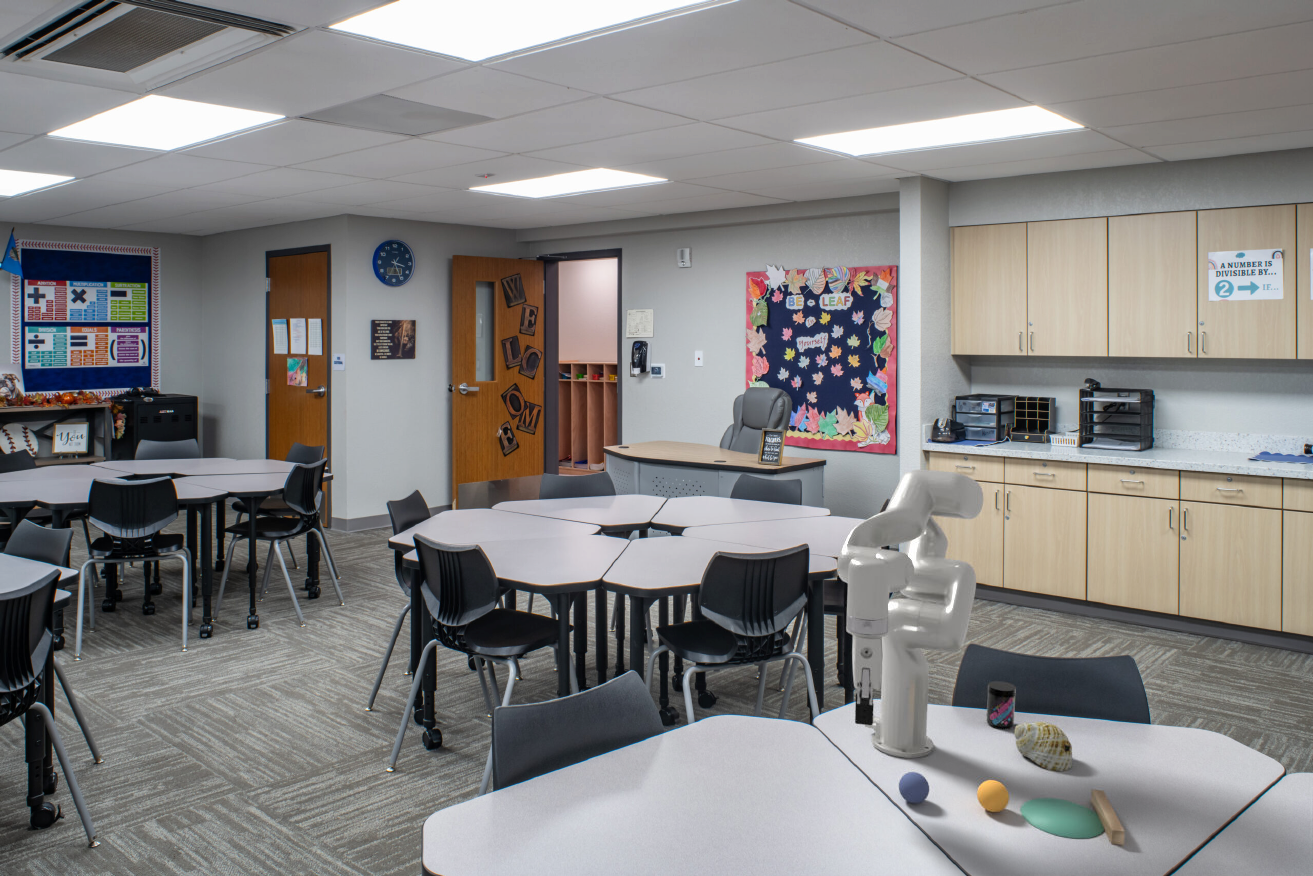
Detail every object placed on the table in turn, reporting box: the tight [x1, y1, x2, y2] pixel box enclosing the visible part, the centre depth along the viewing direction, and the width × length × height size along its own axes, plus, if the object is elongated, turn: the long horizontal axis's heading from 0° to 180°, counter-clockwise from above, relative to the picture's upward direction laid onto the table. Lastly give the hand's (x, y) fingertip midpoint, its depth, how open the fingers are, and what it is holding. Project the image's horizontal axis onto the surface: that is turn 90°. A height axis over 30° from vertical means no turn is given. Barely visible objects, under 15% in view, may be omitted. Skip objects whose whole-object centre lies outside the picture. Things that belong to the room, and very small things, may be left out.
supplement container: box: [986, 680, 1017, 730], centre depth 212 cm, size 6×6×9 cm
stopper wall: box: [1090, 789, 1126, 846], centre depth 169 cm, size 2×15×2 cm, turn 168°
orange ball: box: [976, 779, 1010, 813], centre depth 173 cm, size 6×6×6 cm
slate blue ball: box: [898, 771, 930, 804], centre depth 176 cm, size 6×6×6 cm
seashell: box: [1014, 721, 1074, 772], centre depth 195 cm, size 11×10×10 cm
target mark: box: [1020, 797, 1105, 839], centre depth 171 cm, size 14×14×1 cm
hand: (863, 718), depth 177 cm, fingers open, 3 cm apart
